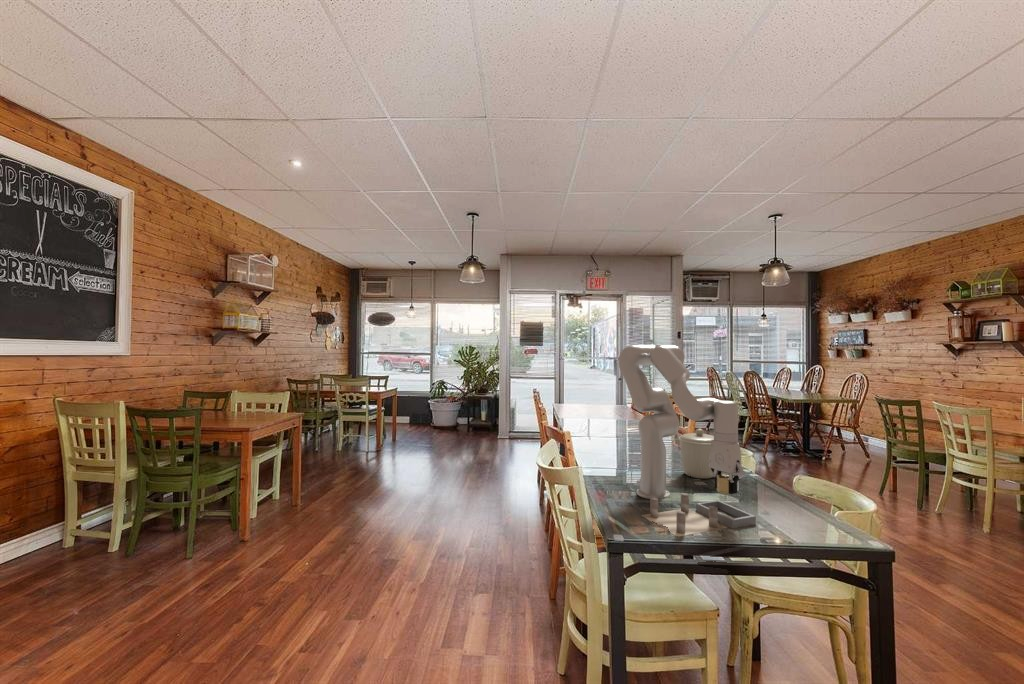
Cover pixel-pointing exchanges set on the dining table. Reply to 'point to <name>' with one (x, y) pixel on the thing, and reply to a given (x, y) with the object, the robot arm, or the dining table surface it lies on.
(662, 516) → the spacer board
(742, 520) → the tray
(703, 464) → the canister
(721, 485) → the tan faceted piece
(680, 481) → the dining table surface
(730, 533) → the dining table surface
